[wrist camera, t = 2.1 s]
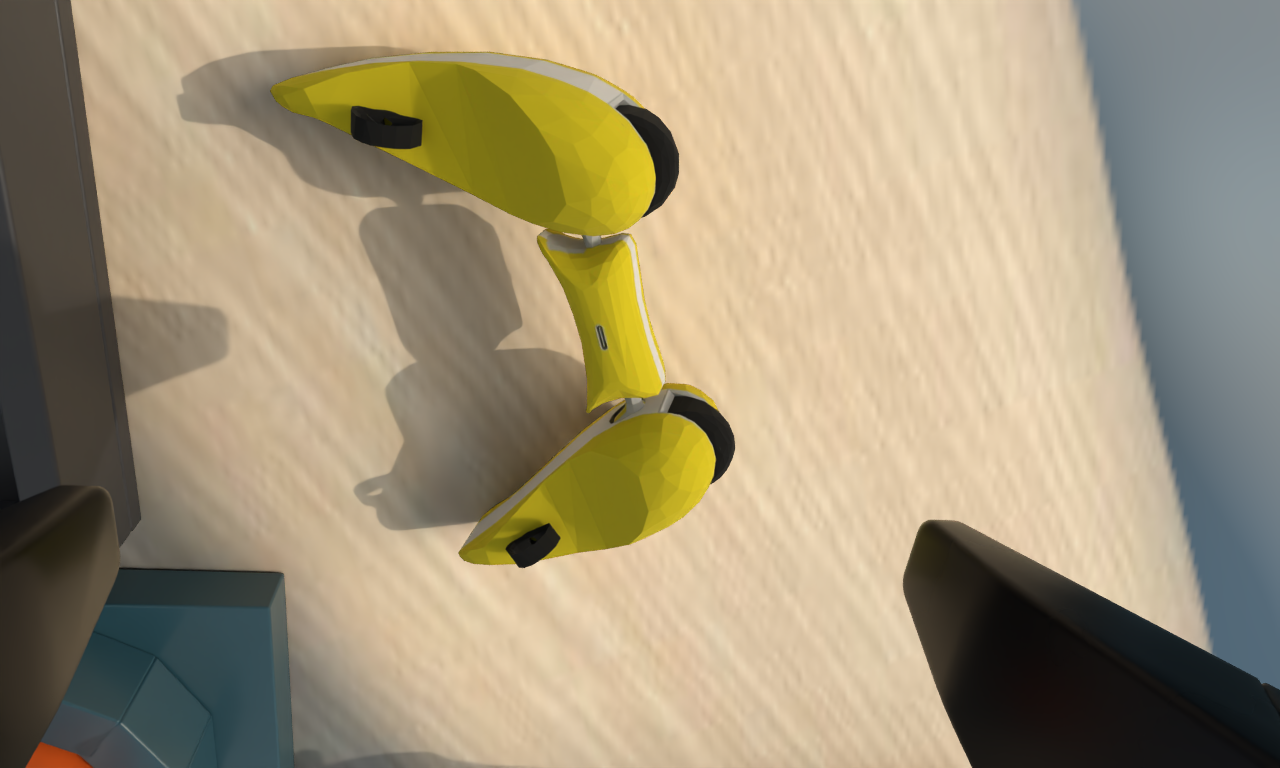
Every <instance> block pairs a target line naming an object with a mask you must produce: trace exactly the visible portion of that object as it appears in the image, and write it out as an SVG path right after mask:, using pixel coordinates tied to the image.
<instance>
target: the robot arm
mask: <svg viewBox="0 0 1280 768" xmlns="http://www.w3.org/2000/svg"><path fill="white" fill-rule="evenodd" d="M119 565H120V549H119V542H118V536H117V529H116V522H115V516H114V509H113V503H112V499H111V496H110V494H109V492H108V491H107V490H106V489H104V488H103V487H100V486H84V485H59V486H56V487H53V488H51V489H48V490H46V491H44V492H41V493H39V494H36V495H34V496H32V497H29V498H27V499H24V500H22V501H19V502H17V503H15V504H12V505H10V506H7V507H5V508H2V509H0V768H25V767H26V766H27V764H28V762H29V761H30V759H31V757H32V755H33V754H34V752H35V750H36V748H37V747H38V745H39V743H40V742H41V740H42V738H43V736H44V735H45V733H46V731H47V729H48V727H49V726H50V724H51V722H52V720H53V718H54V716H55V715H56V713H57V711H58V709H59V707H60V705H61V703H62V701H63V698H64V696H65V694H66V692H67V690H68V688H69V686H70V683H71V681H72V679H73V676H74V674H75V672H76V669H77V667H78V665H79V663H80V660H81V658H82V656H83V653H84V651H85V649H86V646H87V644H88V642H89V640H90V637H91V635H92V633H93V630H94V628H95V626H96V623H97V621H98V619H99V617H100V614H101V612H102V610H103V607H104V605H105V603H106V600H107V598H108V596H109V594H110V591H111V589H112V587H113V584H114V582H115V580H116V577H117V574H118V570H119ZM903 590H904V595H905V598H906V601H907V604H908V607H909V610H910V613H911V615H912V618H913V621H914V624H915V627H916V630H917V633H918V635H919V638H920V641H921V644H922V647H923V650H924V653H925V655H926V658H927V661H928V664H929V667H930V670H931V673H932V675H933V678H934V681H935V684H936V687H937V689H938V692H939V695H940V697H941V700H942V702H943V705H944V707H945V710H946V712H947V714H948V717H949V719H950V721H951V723H952V726H953V728H954V730H955V732H956V734H957V736H958V738H959V741H960V743H961V745H962V747H963V749H964V751H965V753H966V755H967V758H968V760H969V762H970V764H971V766H972V768H1280V690H1279V689H1277V688H1275V687H1273V686H1271V685H1269V684H1267V683H1263V684H1261V683H1260V681H1259V680H1258V679H1257V678H1256V677H1254V676H1252V675H1250V674H1248V673H1246V672H1245V671H1242V670H1241V669H1239V668H1237V667H1235V666H1233V665H1231V664H1229V663H1227V662H1226V661H1223V660H1222V659H1220V658H1218V657H1216V656H1214V655H1212V654H1210V653H1208V652H1207V651H1205V650H1203V649H1201V648H1199V647H1197V646H1195V645H1193V644H1191V643H1189V642H1187V641H1186V640H1184V639H1182V638H1180V637H1178V636H1176V635H1174V634H1172V633H1170V632H1168V631H1167V630H1165V629H1163V628H1161V627H1159V626H1157V625H1155V624H1153V623H1151V622H1149V621H1148V620H1146V619H1144V618H1142V617H1140V616H1138V615H1136V614H1134V613H1132V612H1130V611H1129V610H1127V609H1125V608H1123V607H1121V606H1119V605H1117V604H1115V603H1113V602H1111V601H1110V600H1108V599H1106V598H1104V597H1102V596H1100V595H1098V594H1096V593H1094V592H1092V591H1091V590H1089V589H1087V588H1085V587H1083V586H1081V585H1079V584H1077V583H1075V582H1073V581H1072V580H1070V579H1068V578H1066V577H1064V576H1062V575H1060V574H1058V573H1056V572H1054V571H1053V570H1051V569H1049V568H1047V567H1045V566H1043V565H1041V564H1039V563H1037V562H1035V561H1034V560H1032V559H1030V558H1028V557H1026V556H1024V555H1022V554H1020V553H1018V552H1016V551H1015V550H1013V549H1011V548H1009V547H1007V546H1005V545H1003V544H1001V543H999V542H997V541H996V540H994V539H992V538H990V537H988V536H986V535H984V534H982V533H980V532H978V531H977V530H975V529H973V528H971V527H969V526H967V525H965V524H963V523H961V522H958V521H952V520H928V521H926V522H924V523H923V524H922V525H921V526H920V528H919V530H918V532H917V536H916V539H915V542H914V545H913V548H912V551H911V554H910V557H909V560H908V563H907V566H906V569H905V572H904V577H903Z"/></svg>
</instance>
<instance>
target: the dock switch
mask: <svg viewBox="0 0 1280 768" xmlns="http://www.w3.org/2000/svg"><path fill="white" fill-rule="evenodd" d="M41 742H42V743H45V744H48V745H51V746H54V747H57V748H60V749H63V750H66V751H69V752H72V753H75V754H78V755H79V756H80V757H82V758H83V759H84V760H85V761H86V762H87V763H88V764H89V765H90V766H91V767H93V768H294V752H293V733H292V714H291V695H290V676H289V657H288V638H287V619H286V600H285V582H284V574H283V573H253V572H211V571H170V570H128V569H119V570H118V574H117V577H116V580H115V582H114V584H113V587H112V589H111V591H110V594H109V596H108V598H107V600H106V603H105V605H104V607H103V610H102V612H101V614H100V617H99V619H98V621H97V623H96V626H95V628H94V630H93V633H92V635H91V637H90V640H89V642H88V644H87V646H86V649H85V651H84V653H83V656H82V658H81V660H80V663H79V665H78V667H77V669H76V672H75V674H74V676H73V679H72V681H71V683H70V686H69V688H68V690H67V692H66V694H65V696H64V698H63V701H62V703H61V705H60V707H59V709H58V711H57V713H56V715H55V716H54V718H53V720H52V722H51V724H50V726H49V727H48V729H47V731H46V733H45V735H44V736H43V738H42V740H41Z"/></svg>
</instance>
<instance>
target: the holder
mask: <svg viewBox="0 0 1280 768" xmlns="http://www.w3.org/2000/svg"><path fill="white" fill-rule="evenodd" d="M59 485H84V486H100V487H103V488H104V489H106V490H107V491H108V492H109V494H110V496H111V499H112V503H113V509H114V516H115V522H116V529H117V536H118V542H119V548H120V546H121V545H122V544H123V542H124V541H125V540H126V538H127V537H128V536H129V534H130V531H133V530H134V528H135V527H136V525H137V524H138V523H139V521H140V520H141V513H140V506H139V499H138V491H137V484H136V477H135V469H134V462H133V455H132V448H131V440H130V433H129V426H128V418H127V411H126V404H125V396H124V389H123V382H122V374H121V367H120V360H119V352H118V345H117V338H116V330H115V323H114V316H113V308H112V301H111V294H110V286H109V279H108V272H107V264H106V257H105V250H104V243H103V235H102V228H101V221H100V213H99V206H98V199H97V191H96V184H95V177H94V169H93V162H92V155H91V147H90V140H89V133H88V125H87V118H86V111H85V103H84V96H83V89H82V81H81V74H80V67H79V59H78V52H77V45H76V38H75V30H74V23H73V16H72V8H71V1H70V0H0V509H2V508H5V507H7V506H10V505H12V504H15V503H17V502H19V501H22V500H24V499H27V498H29V497H32V496H34V495H36V494H39V493H41V492H44V491H46V490H48V489H51V488H53V487H56V486H59Z"/></svg>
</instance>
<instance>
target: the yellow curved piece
mask: <svg viewBox="0 0 1280 768" xmlns="http://www.w3.org/2000/svg"><path fill="white" fill-rule="evenodd" d="M270 92H271V93H272V95H273V97H274V99H275V100H276V102H278V103H279V104H280V105H281V106H282V107H284V108H286V109H288V110H289V111H291V112H293V113H297V114H301V115H305V116H309V117H313V118H316V119H318V120H320V121H323V122H325V123H327V124H330V125H332V126H334V127H336V128H338V129H340V130H342V131H344V132H346V133H348V134H350V135H352V136H353V138H354V139H356V140H358V141H360V142H362V143H365V144H368V145H371V146H375V147H377V148H379V149H381V150H383V151H385V152H387V153H389V154H391V155H393V156H395V157H397V158H399V159H402V160H404V161H406V162H408V163H410V164H412V165H414V166H416V167H418V168H420V169H422V170H424V171H426V172H428V173H430V174H432V175H434V176H436V177H438V178H440V179H442V180H444V181H446V182H448V183H450V184H452V185H454V186H456V187H458V188H460V189H462V190H464V191H466V192H468V193H470V194H472V195H474V196H476V197H478V198H480V199H482V200H484V201H486V202H488V203H490V204H492V205H493V206H495V207H497V208H499V209H501V210H503V211H505V212H507V213H509V214H511V215H513V216H516V217H518V218H520V219H523V220H525V221H528V222H530V223H532V224H536V225H539V226H542V227H545V228H548V229H545V230H544V231H543V232H541V233H540V234H539V235H538V236H537V243H538V245H539V247H540V249H541V252H542V254H543V255H544V257H545V258H546V259H547V261H548V262H549V264H550V266H551V268H552V269H553V271H554V273H555V275H556V276H557V278H558V280H559V282H560V283H561V285H562V287H563V289H564V292H565V295H566V297H567V300H568V302H569V305H570V308H571V310H572V313H573V316H574V319H575V322H576V326H577V329H578V332H579V336H580V339H581V342H582V349H583V355H584V362H585V368H586V375H587V409H586V412H587V413H590V412H591V411H592V410H593V409H595V408H596V407H598V406H599V405H601V404H602V403H605V402H609V401H612V400H616V399H620V398H625V400H624V401H622V402H620V403H619V404H617V405H616V406H614V407H612V408H611V409H610V410H608V411H607V412H606V413H605V414H603V415H602V416H601V417H599V418H598V419H597V420H595V421H594V422H593V423H591V424H590V425H589V426H588V427H586V428H585V429H584V430H582V431H581V432H580V433H579V434H578V435H577V436H576V437H575V438H574V439H573V440H572V441H570V442H569V443H568V444H567V445H566V446H565V447H564V448H563V449H562V450H561V451H560V452H559V453H558V454H556V455H555V456H554V457H553V458H552V459H551V460H550V461H549V462H548V463H547V464H546V465H545V466H544V467H542V468H541V469H540V470H539V471H538V472H537V473H536V474H535V475H534V476H533V477H532V478H531V479H529V480H528V481H527V482H526V483H525V484H524V485H523V486H522V487H521V488H520V489H519V490H518V491H516V492H515V493H514V494H513V495H511V496H510V497H509V498H507V499H505V500H504V501H502V502H500V503H499V504H497V505H495V506H494V507H493V508H492V509H490V510H489V511H488V512H487V513H485V514H484V515H483V516H482V518H481V519H480V521H479V522H478V524H477V525H476V527H475V528H474V530H473V531H472V533H471V534H470V536H469V537H468V539H467V540H466V542H465V544H464V545H463V547H462V548H461V550H460V551H459V555H460V557H461V558H462V559H463V560H464V561H467V562H470V563H473V564H484V565H502V564H517V566H518V567H519V568H525V567H528V566H531V565H533V564H535V563H536V562H538V561H539V560H544V559H549V558H554V557H559V556H564V555H569V554H574V553H579V552H587V551H595V550H602V549H609V548H614V547H620V546H625V545H630V544H632V543H634V542H637V541H639V540H642V539H644V538H646V537H648V536H650V535H652V534H654V533H656V532H659V531H661V530H663V529H665V528H667V527H669V526H670V525H672V524H673V523H675V522H677V521H678V520H680V519H681V518H683V517H684V516H685V515H686V514H687V513H688V512H689V511H690V510H691V509H692V508H693V507H694V506H695V505H696V504H697V503H699V502H700V500H701V499H702V497H703V495H704V494H705V492H706V490H707V489H708V487H709V485H710V484H712V483H714V482H715V481H716V480H718V479H719V478H720V477H721V476H722V475H723V474H724V473H725V471H726V470H727V469H728V467H729V465H730V463H731V461H732V458H733V455H734V451H735V440H734V435H733V432H732V430H731V428H730V425H729V423H728V422H727V421H726V420H725V418H724V417H723V416H722V415H721V414H720V413H719V411H718V409H717V407H716V405H715V403H714V401H713V400H712V399H711V398H709V397H708V396H707V395H706V394H705V393H703V392H702V391H701V390H699V389H697V388H695V387H693V386H691V385H687V384H674V383H666V384H664V383H665V381H666V376H665V367H664V362H663V359H662V356H661V353H660V350H659V347H658V344H657V341H656V338H655V335H654V332H653V329H652V326H651V323H650V319H649V315H648V311H647V307H646V303H645V299H644V292H643V285H642V279H641V272H640V265H639V259H638V252H637V245H636V242H635V240H634V239H633V237H632V235H631V234H626V233H621V234H617V235H613V236H609V237H605V238H601V235H609V234H615V233H618V232H620V231H623V230H626V229H628V228H630V227H631V226H632V225H634V224H635V223H636V222H637V221H639V220H640V218H642V217H645V216H647V215H648V214H650V213H651V212H653V211H654V210H656V209H657V208H659V207H660V206H662V204H663V203H664V202H665V200H666V199H667V198H668V196H669V195H670V193H671V192H672V191H673V189H674V188H675V185H676V182H677V178H678V174H679V153H678V150H677V147H676V145H675V142H674V139H673V137H672V134H671V132H670V130H669V129H668V128H667V127H666V126H665V124H664V123H663V122H662V121H661V120H660V118H659V117H657V116H656V115H654V114H653V113H651V112H650V111H648V110H647V109H645V108H644V107H643V106H642V105H641V104H640V103H639V102H638V101H637V100H636V99H635V98H634V97H633V96H631V95H630V94H628V93H627V92H626V91H624V90H622V89H621V88H619V87H617V86H616V85H614V84H612V83H610V82H609V81H607V80H605V79H603V78H601V77H599V76H597V75H595V74H592V73H589V72H586V71H583V70H580V69H576V68H573V67H570V66H566V65H563V64H559V63H556V62H553V61H549V60H545V59H538V58H530V57H523V56H516V55H508V54H501V53H494V52H427V53H417V54H407V55H398V56H388V57H378V58H370V59H366V60H361V61H357V62H352V63H348V64H343V65H339V66H334V67H330V68H326V69H322V70H318V71H315V72H311V73H307V74H304V75H300V76H297V77H293V78H290V79H288V80H285V81H283V82H280V83H278V84H275V85H273V86H272V88H271V90H270ZM562 232H564V233H571V234H579V235H582V237H583V239H580V238H575V237H572V236H569V235H566V234H564V233H562Z"/></svg>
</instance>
